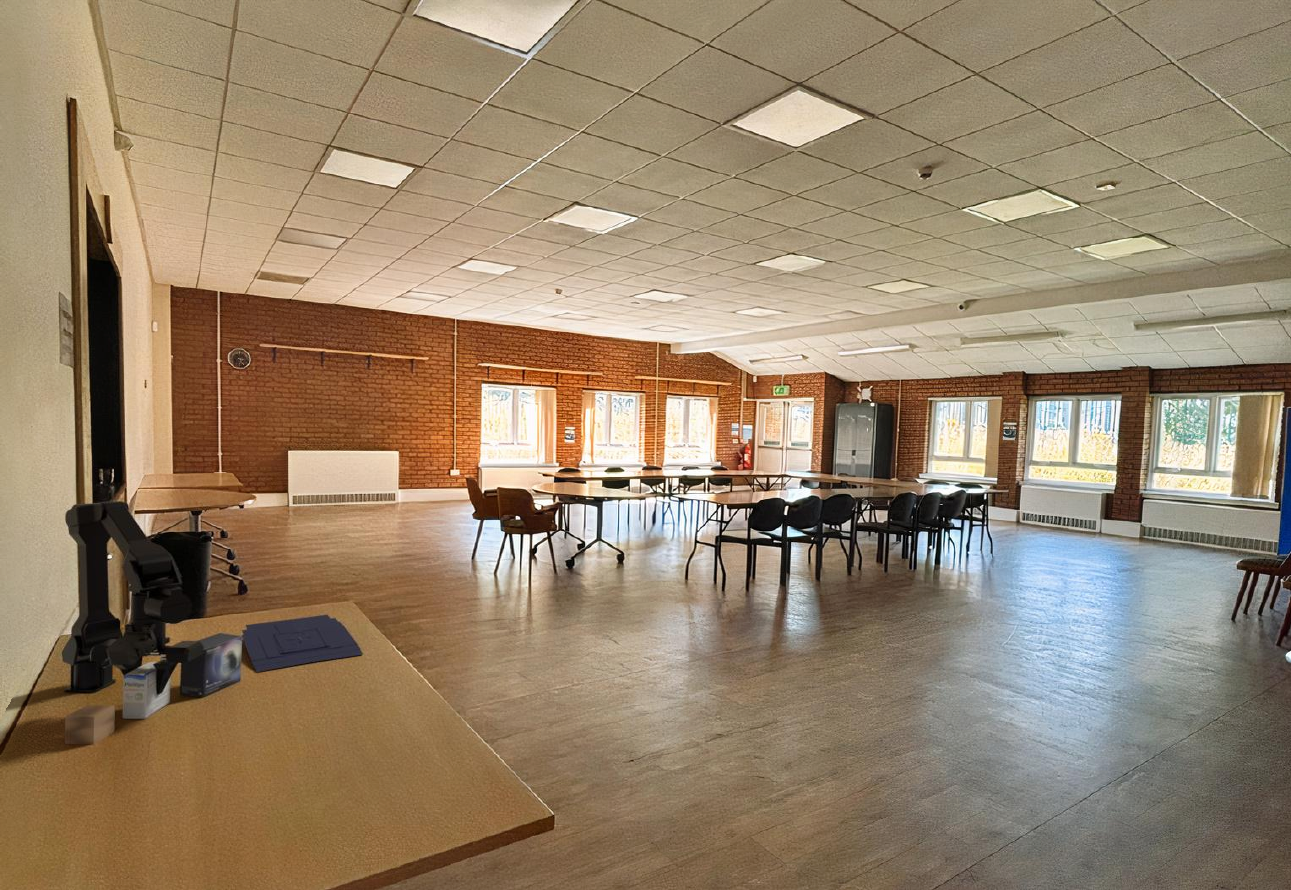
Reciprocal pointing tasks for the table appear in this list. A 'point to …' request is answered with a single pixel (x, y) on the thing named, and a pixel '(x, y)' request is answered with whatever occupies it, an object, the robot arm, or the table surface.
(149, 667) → the medicine box
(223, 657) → the small box
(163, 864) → the table surface
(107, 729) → the light brown cube
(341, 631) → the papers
